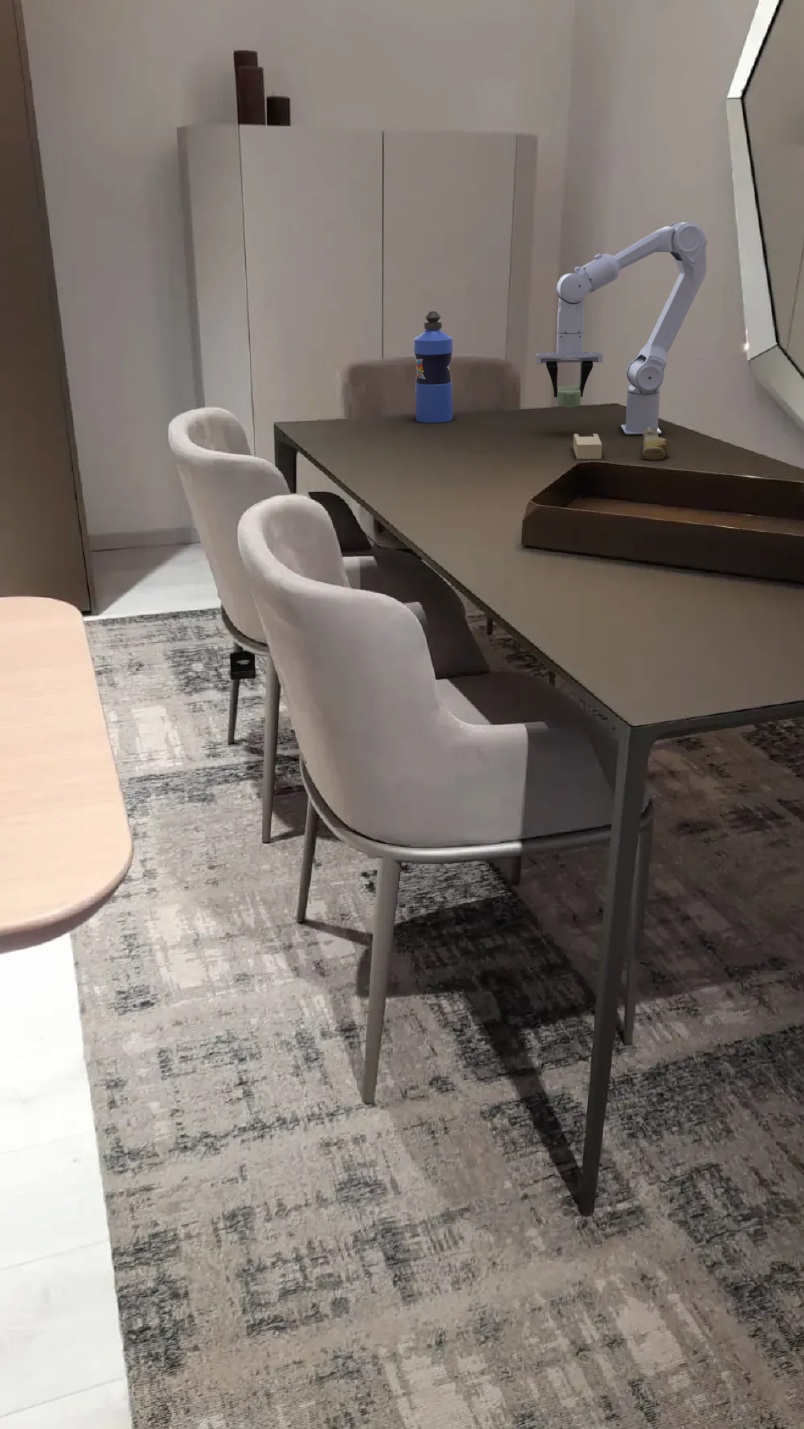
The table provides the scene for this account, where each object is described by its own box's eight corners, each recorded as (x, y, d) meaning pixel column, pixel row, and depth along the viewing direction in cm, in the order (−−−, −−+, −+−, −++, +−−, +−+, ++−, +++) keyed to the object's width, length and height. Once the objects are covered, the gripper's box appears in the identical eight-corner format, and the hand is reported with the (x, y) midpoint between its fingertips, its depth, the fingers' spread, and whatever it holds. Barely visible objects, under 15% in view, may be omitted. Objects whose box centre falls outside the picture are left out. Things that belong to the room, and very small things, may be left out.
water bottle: (420, 424, 266) (418, 314, 255) (411, 417, 274) (409, 311, 264) (457, 421, 268) (457, 312, 257) (447, 414, 276) (446, 309, 266)
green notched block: (555, 400, 251) (556, 386, 250) (578, 399, 250) (578, 386, 249) (558, 408, 241) (558, 394, 240) (581, 407, 241) (581, 393, 240)
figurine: (675, 449, 222) (670, 424, 234) (651, 438, 221) (647, 413, 234) (662, 471, 225) (658, 445, 237) (638, 460, 224) (635, 435, 236)
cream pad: (573, 448, 236) (573, 434, 235) (596, 447, 236) (597, 433, 235) (576, 459, 226) (577, 444, 225) (601, 459, 226) (602, 444, 225)
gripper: (537, 335, 238) (535, 399, 243) (605, 334, 236) (602, 398, 242) (536, 331, 244) (535, 394, 250) (602, 330, 243) (599, 393, 249)
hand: (568, 396), depth 246 cm, fingers closed on green notched block, 5 cm apart
